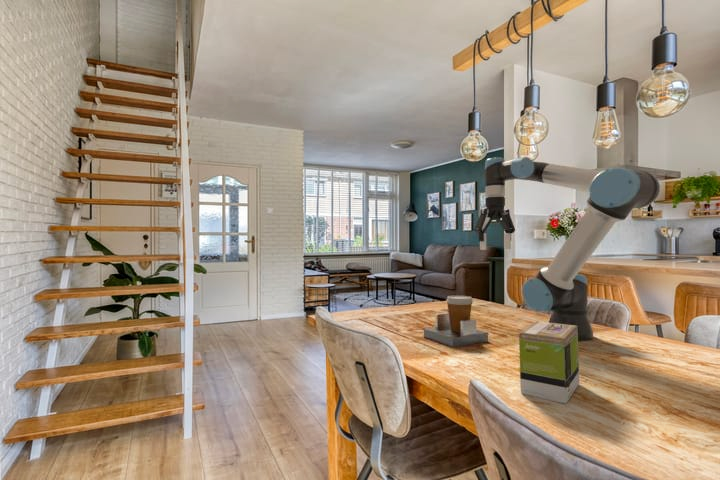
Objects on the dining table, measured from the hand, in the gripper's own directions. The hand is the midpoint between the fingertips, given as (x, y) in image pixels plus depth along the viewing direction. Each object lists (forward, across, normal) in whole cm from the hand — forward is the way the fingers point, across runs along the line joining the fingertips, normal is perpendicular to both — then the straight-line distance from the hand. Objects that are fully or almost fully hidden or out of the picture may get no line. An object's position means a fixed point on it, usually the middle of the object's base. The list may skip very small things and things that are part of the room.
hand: (495, 249), depth 156 cm
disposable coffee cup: (+29, +24, +5) cm, 38 cm away
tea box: (+32, +38, +52) cm, 72 cm away
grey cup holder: (+32, +26, +5) cm, 41 cm away
